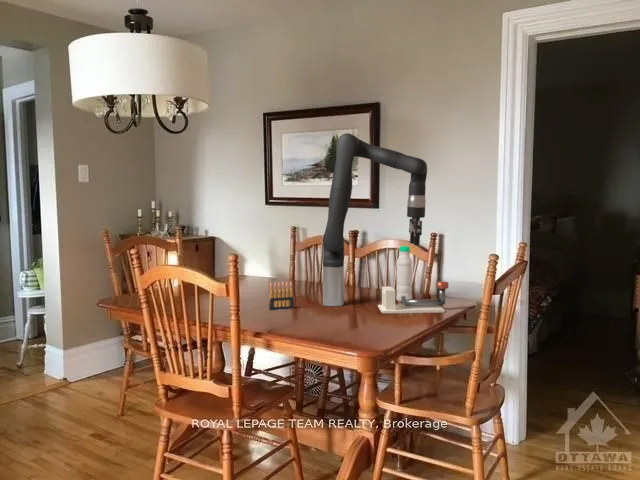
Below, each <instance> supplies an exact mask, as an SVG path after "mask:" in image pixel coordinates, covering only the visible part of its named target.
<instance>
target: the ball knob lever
mask: <svg viewBox="0 0 640 480" xmlns="http://www.w3.org/2000/svg"><path fill="white" fill-rule="evenodd" d="M435 285H436V287H435V288H436V289H439V290H438V298H435V299H433V298H431V299H429V298H427V299H412V300H406V296H401V301H400V304H401V305H405V306H440V307H442V306H444V305H446V290H447V289H449V281H445V280H444V281H443V280H442V281H441V280H439V281H436V284H435Z"/></svg>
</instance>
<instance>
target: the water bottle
mask: <svg viewBox="0 0 640 480" xmlns="http://www.w3.org/2000/svg"><path fill="white" fill-rule="evenodd" d="M398 250H399V251H398V252H399V256H398V258H397V260H396V273H395V274H396V289H395V291H396V293H395V300H396V301H398V302H401V296H406V300H413V299H412V298H413V295H412V290H413V286H412V282H413V269H412V265H413V260H412V259H411V256H410V254H409V253H410V250H411V249H410V246H407V245H402V246H399V248H398Z"/></svg>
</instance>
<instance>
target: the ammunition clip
mask: <svg viewBox="0 0 640 480" xmlns="http://www.w3.org/2000/svg"><path fill="white" fill-rule="evenodd" d="M273 283H274V284H273ZM273 283H272V281H271V282H270V283H269V294H268V295H269V298H268V310H269V311H279V310H278V309H282V310H292V308H295V305H294V289H293V281H292V280H290V281H286V282H284V281H282V282H280V281H278V282H276V281H274V282H273Z"/></svg>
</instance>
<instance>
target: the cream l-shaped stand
mask: <svg viewBox="0 0 640 480" xmlns="http://www.w3.org/2000/svg"><path fill="white" fill-rule="evenodd" d="M377 307H378V309H379V311H380V312H381V313H382V314H420V313H421V314H428V313H429V314H430V313H432V314H433V313H446V310H445V309H444V308H443V307H442V306H405V305H401V303H399V304H398V303H397V304H396V289H394V287H393V286H381V304H377Z"/></svg>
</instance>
